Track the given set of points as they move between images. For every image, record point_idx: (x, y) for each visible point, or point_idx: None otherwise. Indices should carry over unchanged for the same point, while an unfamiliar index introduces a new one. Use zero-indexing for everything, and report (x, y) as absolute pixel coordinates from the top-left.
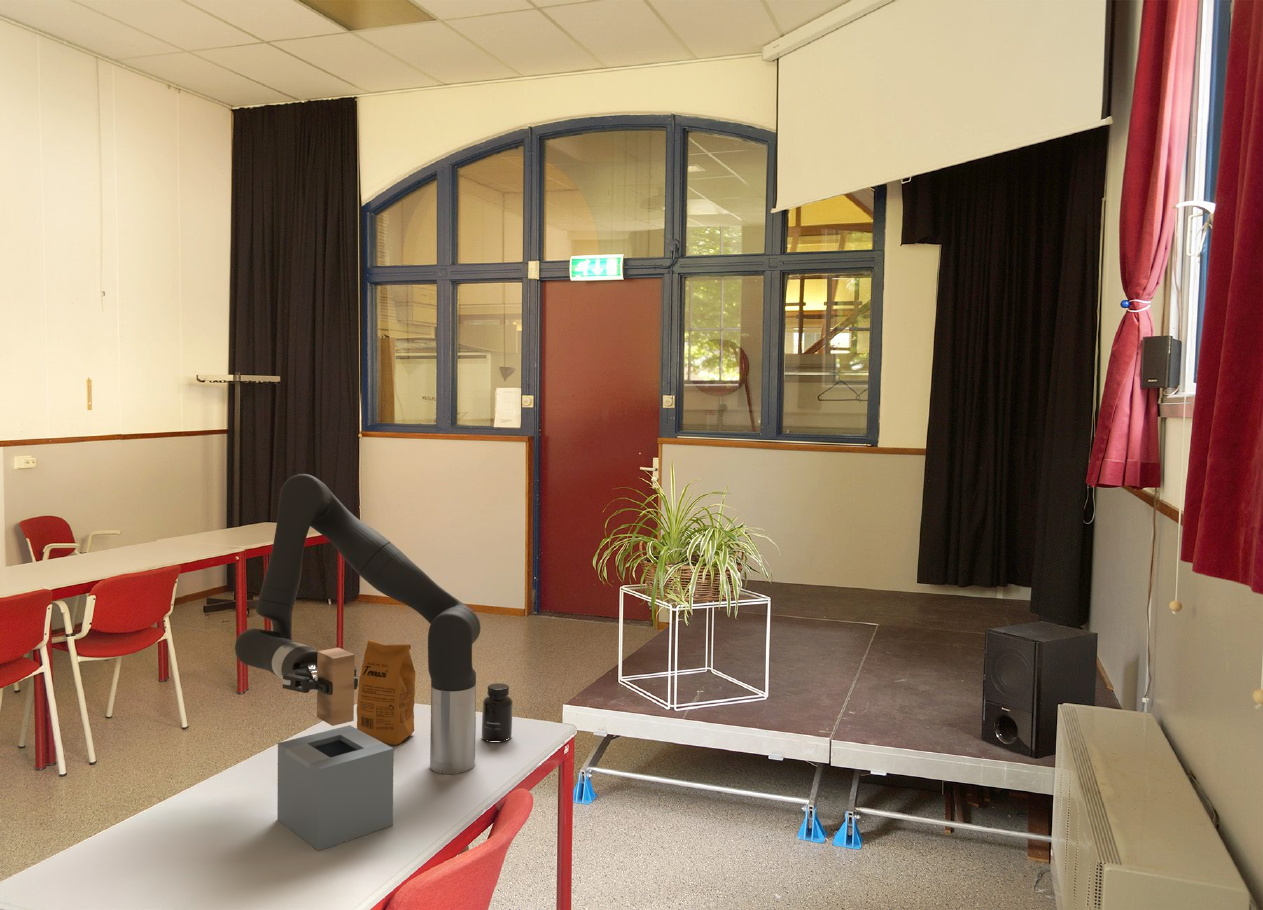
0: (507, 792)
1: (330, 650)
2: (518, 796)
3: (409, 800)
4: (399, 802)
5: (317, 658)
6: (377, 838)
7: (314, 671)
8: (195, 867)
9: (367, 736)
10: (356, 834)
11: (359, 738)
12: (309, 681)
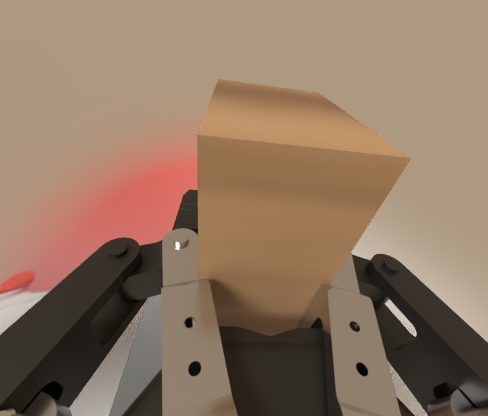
0: (2, 294)
1: (298, 129)
2: (15, 276)
3: (89, 379)
4: (104, 385)
5: (376, 210)
6: None
7: (351, 294)
8: (409, 391)
9: (139, 346)
10: None
11: (161, 347)
12: (365, 261)
